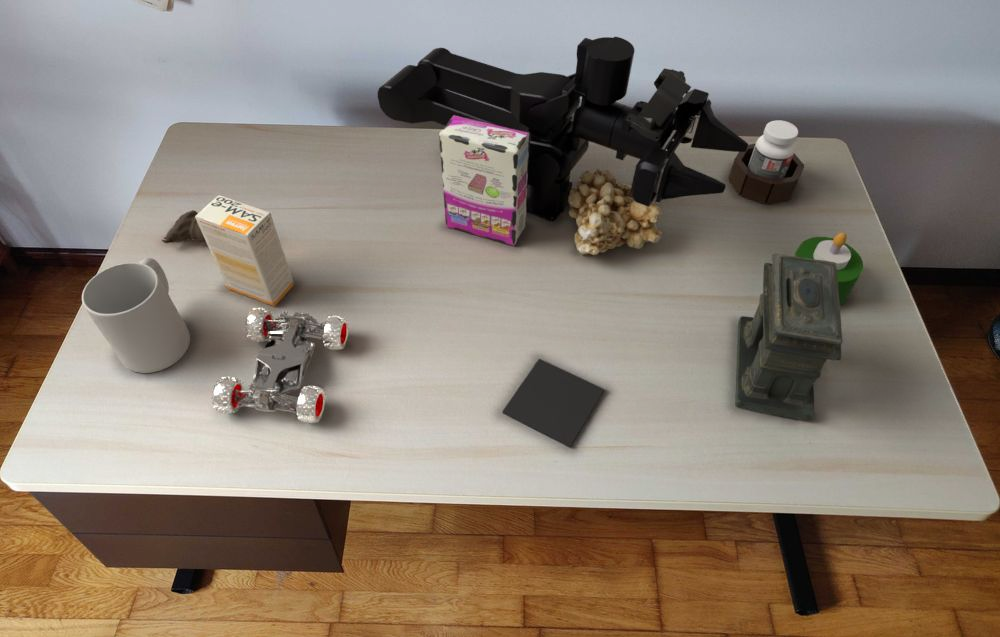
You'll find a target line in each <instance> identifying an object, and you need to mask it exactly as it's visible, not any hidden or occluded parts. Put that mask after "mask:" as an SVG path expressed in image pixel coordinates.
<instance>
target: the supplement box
mask: <svg viewBox="0 0 1000 637" xmlns="http://www.w3.org/2000/svg"><path fill="white" fill-rule="evenodd" d="M197 213H198V214H197V215H196V216H195V218H196V220H197V223H198V225H199V227H200V229H201V232H202V234H203V236H204V238H205V240H206V242H205V243H206V245H207V247H208V250H209V251H210V253H211V256H212V258H213V260H214V263H215V264H216V267H217V269H218V271H219V274H220V276H221V278H222V281H223V283H224V285H225V287H226V288H227V290H230V291H233V292H235V293H238V294H241V295H243V296H246V297H249V298H251V299H253V300H257V301H259V302H262V303H264V304H267V305H270V306H273V307H276V306H277V305H278V303H279V302H280V301H281V300H282V299H283V298H284V297H285V296H286V295H287V293H288V292H289V291H290V290H291V289H292V288H293V287H294V285H295V282H294V279H293V276H292V272H291V270H290V267H289V264H288V262H287V258H286V255H285V252H284V250H283V246H282V244H281V240H280V239H279V234H278V231H277V229H276V226H275V222H274V219H273V217H272V214H271V212H270V211H267V210H264V209H261V208H258V207H255V206H252V205H249V204H247V203H243V202H241V201H239V200H235V199H232V198H229V197H226V196H223V195H221V194H219V195H217V196H216V197H215V198H213V199H212V200H211V201H210V202H209V203H208V204H206V206H204V207H203V208H202V209H201V210H200V211H199V212H197Z"/></svg>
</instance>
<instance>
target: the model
mask: <svg viewBox="0 0 1000 637" xmlns="http://www.w3.org/2000/svg"><path fill="white" fill-rule="evenodd" d="M771 259H772V260H771V263H770V262H765V263H764V264H763V279H762V280H763V281H762V293H761V294H759V300H758V305H757V309H756V311H755V313H754V315H753V316H743V315H742V316H740V317H739V320H738V323H737V341H736V342H737V344H736V368H735V369H736V370H735V393H734V394H735V397H734V399H735V404H734V405H735V407H736V408H740V409H743V410H744V409H745V410H749V411H752V412H757V413H763V414H769V415H773V416H778V417H785V418H790V419H795V420H802V421H807V422H811V421H812V420H813V419H814V417H815V382H816V381H817V380H818V379H819V378H820V377H821V372H822V369H823V367H824V365H825V364H826V363H827V361H828V360H829V361H840V360H841V359H842V345H843V342H844V341H843V340H844V339H843V331H842V316H841V306H840V300H839V288H838V276H837V267H836V263H835V262H830V261H823V260H816V259H809V258H802V257H795V255H789V254H788V255H787V254H780V253H772V254H771Z"/></svg>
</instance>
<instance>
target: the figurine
mask: <svg viewBox="0 0 1000 637" xmlns="http://www.w3.org/2000/svg"><path fill="white" fill-rule="evenodd" d="M198 213H199V212H198V211H196V210H195V209H193V210H190V211H187V212H185V213H183V214H181V215H180V216H179V217H178V218H177V220H176V221H175V222H174V224H173V226H172V228H170V229H169V230H168V231H167V233H166V235H165V236H164V237H163V239H161V242H162V243H164V244H172V243H173V244H174V243H175V242H187V241H189V240H190V241H191V240H193V241H199V242H204V243H206V240H205V238H204V236H203V234H202V232H201V229H200V227H199V225H198V223H197V220H196V218H195V216H196V215H197V214H198Z"/></svg>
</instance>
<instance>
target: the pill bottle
mask: <svg viewBox="0 0 1000 637" xmlns="http://www.w3.org/2000/svg"><path fill="white" fill-rule="evenodd" d="M798 135H799V130H798V128H797V126H796V125H795V124H793V123H791V122H789V121H786V120H780V119H776V120H772V121H769V122H767V123H766V125H765V126H764V129H763V134H762V135H760V136H759V138H757V140H756V142H755V144H756V145H755V148H754V150H753V153H752V156H751V159H750V162H749V165H748V169H749V171H750V172H751V173H753V174H756V175H759V176H762V177H765V178H768V179H771V180H776V179H782V178H784V177H785V175H786V172H787V170H788V167H789V165H790V162H791V160H792V157H793V155H794V153H796V152H795V151H796V145H795V142H796V141H797V139H798Z"/></svg>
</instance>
